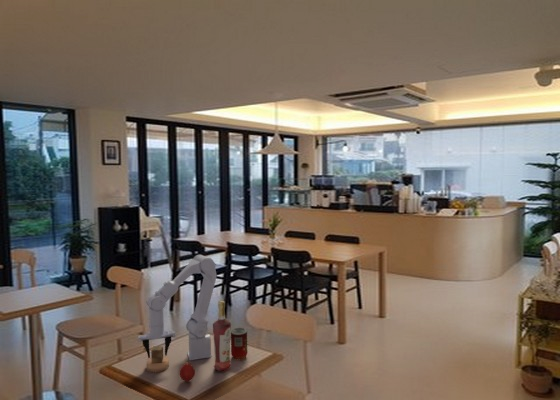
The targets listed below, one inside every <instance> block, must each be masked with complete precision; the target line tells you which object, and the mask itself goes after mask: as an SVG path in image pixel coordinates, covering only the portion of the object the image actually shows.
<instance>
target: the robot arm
mask: <svg viewBox="0 0 560 400" xmlns="http://www.w3.org/2000/svg"><path fill="white" fill-rule="evenodd" d="M216 266H217V264H216V262H215V261H214V259H212V258H211V257H208V256H205V255H203V254H197V255H195V256H194V257H193V258H192V259H190V261H189V262H188V264H187V265H186V266H185V267H184V268H183V269H182V270H181V271H180V272H179V273H178V274H177V275H176V277H174V279H173V280H168V281H165V282H164V283H163V285H162V286H161V288H159V289H158V290H157V291H155V292H154V294H151V295H150V296H149V297H148V298H147V301H146V306H147V307H148V321H149V323H148V324H149V325H148V326H149V333H145V334H142V335H138V336H137V337H138V343H141V342H142V345H143V348H144V349H145V351H146V354H147V358H148V359H150V358H151V352H150V351H151V350H150V341H153V340H159V339H164V357H168V350H169V348H170V344H171V342H172V338H176V332H175V330H173V331H165V327H164V326H165V322H164V321H165V320H164V318H165V317H164V315H165V314H164V309H165V307H166V305H167V304H166V303H167V302H168V301H170V300H171V298H172V297H173V296H174V295H175V294H176V293H177V292H178V291H179V286H180V285H182V284H183V283H184V282H185V281H186V280H187V279H188V278H190V277H191V276H192V275H193V274H201V275H202V277H203V279H202V283H201V287H200V290H199V294H198V297H197V298H198V299H197V301H196V306H195V308H194V312H193V313H192V314H191V315H190V317H189V320H188V321H187V322H186V325H185V328H186V331H188V351H187V353H186V354H187V357H188V360H189V361H195V360H200V359H201V360H202V359H208V358H212V344H211V343H212V341H211V335H210V333H208V330H209V329H208V324H209V320H208V317H207V315H208V314H207V313H208V311H209V306H210V304H211V299H212V296H213V292H214V288H215V284H216V281H217V276H218V275H217V271H216Z"/></svg>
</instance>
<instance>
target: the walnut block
mask: <svg viewBox="0 0 560 400" xmlns="http://www.w3.org/2000/svg"><path fill="white" fill-rule="evenodd" d="M150 351H151V352H150V358H151V359H152V364H155V363H162V361H163V356H164V346H163V345H158V346H157V345H156V346H152V348H151V350H150Z"/></svg>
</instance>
